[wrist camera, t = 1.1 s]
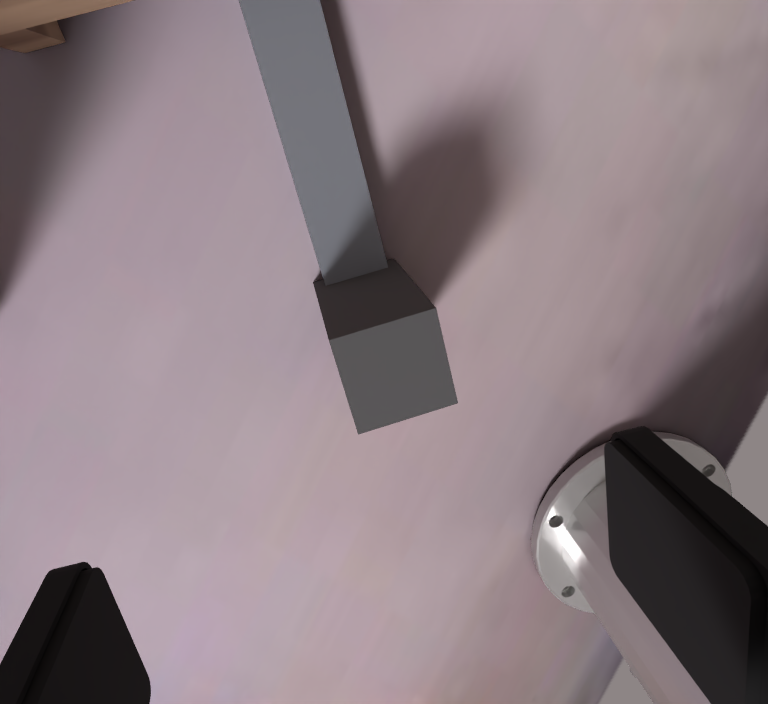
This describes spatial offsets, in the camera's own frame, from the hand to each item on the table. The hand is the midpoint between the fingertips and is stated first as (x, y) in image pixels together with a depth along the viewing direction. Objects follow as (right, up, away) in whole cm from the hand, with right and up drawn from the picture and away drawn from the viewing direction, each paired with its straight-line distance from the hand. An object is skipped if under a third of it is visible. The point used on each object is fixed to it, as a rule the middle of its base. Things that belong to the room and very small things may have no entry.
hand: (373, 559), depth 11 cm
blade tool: (-3, +13, +16) cm, 21 cm away
